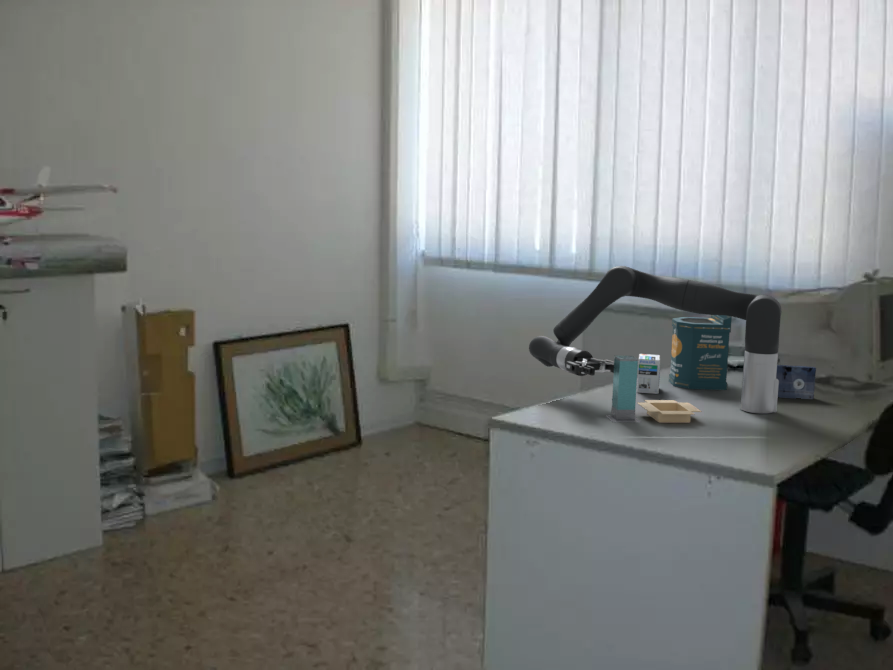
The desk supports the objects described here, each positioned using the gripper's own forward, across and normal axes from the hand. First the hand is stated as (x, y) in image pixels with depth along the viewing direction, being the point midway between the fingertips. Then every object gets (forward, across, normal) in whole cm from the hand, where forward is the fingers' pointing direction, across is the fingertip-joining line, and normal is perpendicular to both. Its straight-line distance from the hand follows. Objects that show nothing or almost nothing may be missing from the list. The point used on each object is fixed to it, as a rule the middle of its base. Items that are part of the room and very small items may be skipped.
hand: (606, 371), depth 286 cm
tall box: (+8, 0, +12) cm, 14 cm away
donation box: (-25, +53, +12) cm, 60 cm away
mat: (+9, 0, +12) cm, 15 cm away
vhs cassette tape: (0, +66, +12) cm, 67 cm away
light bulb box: (-22, +32, +12) cm, 41 cm away
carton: (+12, +13, +12) cm, 21 cm away
